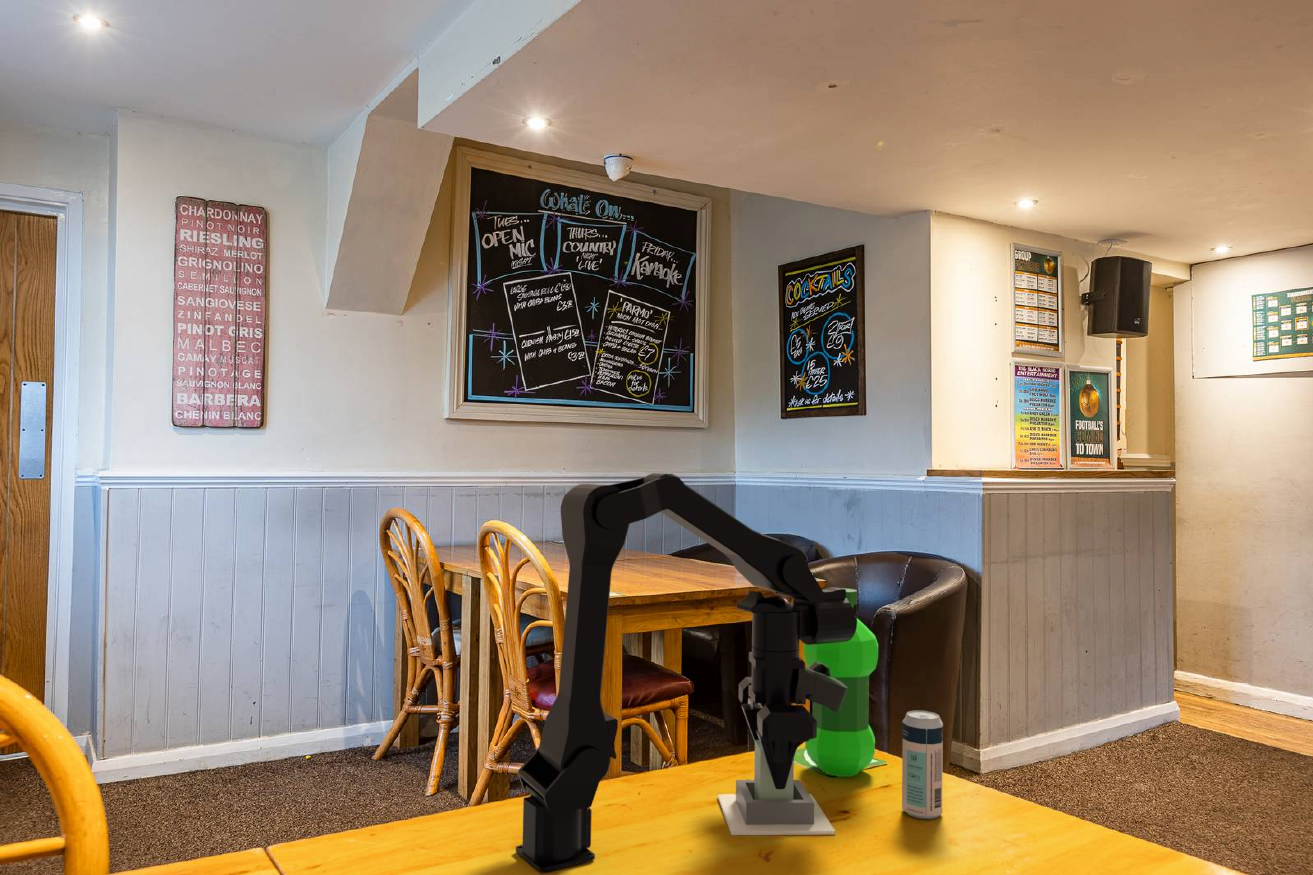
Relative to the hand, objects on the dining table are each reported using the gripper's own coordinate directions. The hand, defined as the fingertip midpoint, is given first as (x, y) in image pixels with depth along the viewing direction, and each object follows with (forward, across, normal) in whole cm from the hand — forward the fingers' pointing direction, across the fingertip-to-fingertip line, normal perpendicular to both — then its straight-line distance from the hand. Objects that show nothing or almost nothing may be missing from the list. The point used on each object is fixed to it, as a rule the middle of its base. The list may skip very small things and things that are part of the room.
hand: (773, 777), depth 112 cm
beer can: (+5, 0, -18) cm, 19 cm away
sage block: (+4, 0, 0) cm, 4 cm away
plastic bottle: (+5, +16, -12) cm, 21 cm away
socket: (+4, 0, 0) cm, 4 cm away
